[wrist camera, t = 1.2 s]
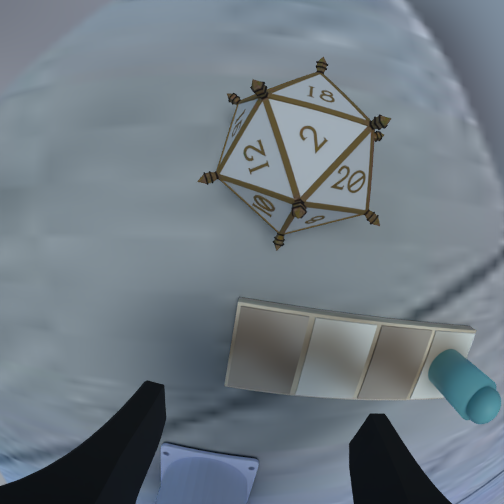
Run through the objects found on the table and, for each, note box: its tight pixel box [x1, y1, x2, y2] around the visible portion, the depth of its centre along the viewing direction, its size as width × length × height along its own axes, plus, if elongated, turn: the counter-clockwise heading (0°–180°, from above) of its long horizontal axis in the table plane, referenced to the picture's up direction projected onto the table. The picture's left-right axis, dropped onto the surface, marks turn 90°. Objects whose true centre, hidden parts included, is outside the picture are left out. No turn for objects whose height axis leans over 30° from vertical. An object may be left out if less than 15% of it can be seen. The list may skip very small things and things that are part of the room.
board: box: [224, 297, 477, 400], centre depth 19 cm, size 6×18×1 cm, turn 80°
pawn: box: [428, 349, 501, 424], centre depth 15 cm, size 3×3×7 cm
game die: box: [197, 57, 391, 251], centre depth 14 cm, size 9×8×10 cm
